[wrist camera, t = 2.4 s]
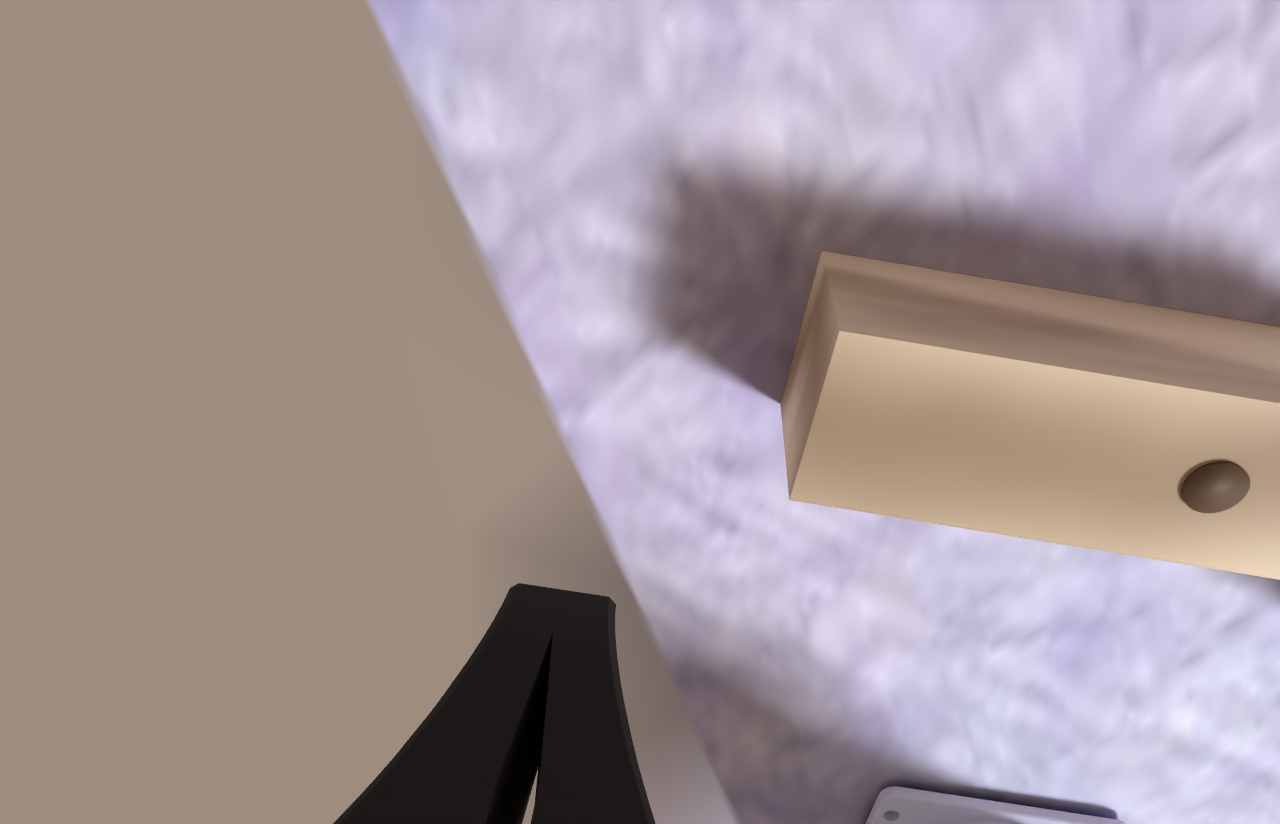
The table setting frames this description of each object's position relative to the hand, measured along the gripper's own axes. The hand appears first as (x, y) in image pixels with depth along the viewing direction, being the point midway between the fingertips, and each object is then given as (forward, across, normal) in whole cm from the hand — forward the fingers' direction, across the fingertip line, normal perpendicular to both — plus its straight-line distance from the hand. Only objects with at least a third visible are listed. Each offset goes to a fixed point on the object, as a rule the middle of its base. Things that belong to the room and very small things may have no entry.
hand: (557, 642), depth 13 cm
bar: (+11, -10, 0) cm, 15 cm away
